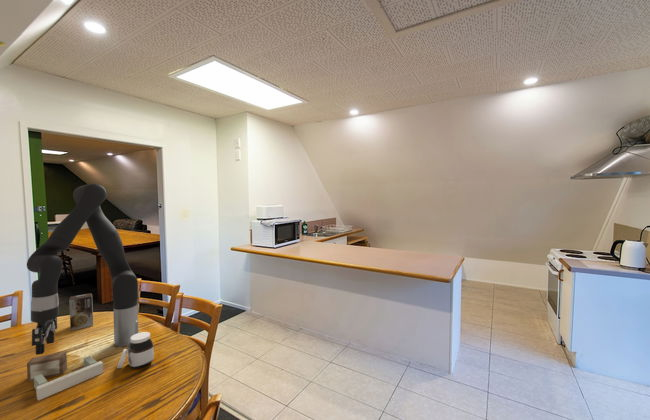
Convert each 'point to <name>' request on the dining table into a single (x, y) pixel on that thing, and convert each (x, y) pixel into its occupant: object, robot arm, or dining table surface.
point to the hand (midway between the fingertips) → (45, 348)
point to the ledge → (67, 379)
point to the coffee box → (81, 311)
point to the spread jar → (138, 351)
